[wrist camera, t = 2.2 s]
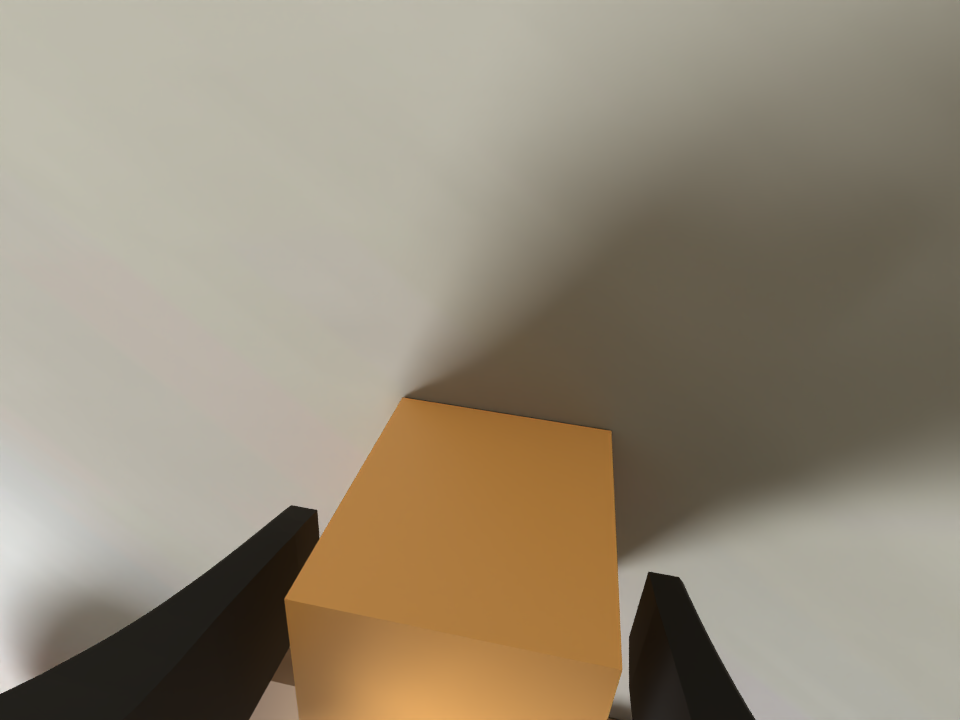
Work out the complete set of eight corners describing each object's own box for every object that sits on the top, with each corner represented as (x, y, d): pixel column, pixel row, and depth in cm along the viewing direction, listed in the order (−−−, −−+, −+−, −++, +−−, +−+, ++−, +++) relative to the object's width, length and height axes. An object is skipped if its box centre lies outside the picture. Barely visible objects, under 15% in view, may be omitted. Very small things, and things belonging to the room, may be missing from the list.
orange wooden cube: (611, 431, 13) (622, 670, 8) (577, 582, 16) (569, 846, 10) (402, 397, 14) (284, 599, 9) (400, 548, 16) (306, 780, 11)
